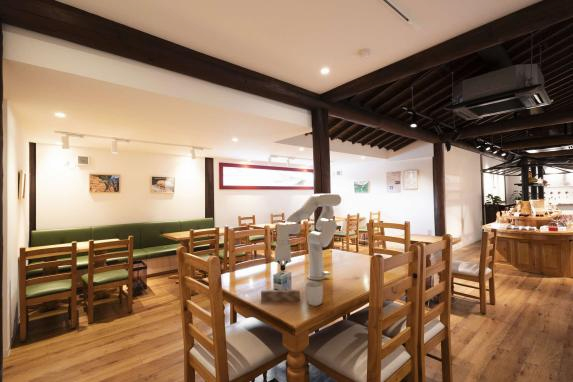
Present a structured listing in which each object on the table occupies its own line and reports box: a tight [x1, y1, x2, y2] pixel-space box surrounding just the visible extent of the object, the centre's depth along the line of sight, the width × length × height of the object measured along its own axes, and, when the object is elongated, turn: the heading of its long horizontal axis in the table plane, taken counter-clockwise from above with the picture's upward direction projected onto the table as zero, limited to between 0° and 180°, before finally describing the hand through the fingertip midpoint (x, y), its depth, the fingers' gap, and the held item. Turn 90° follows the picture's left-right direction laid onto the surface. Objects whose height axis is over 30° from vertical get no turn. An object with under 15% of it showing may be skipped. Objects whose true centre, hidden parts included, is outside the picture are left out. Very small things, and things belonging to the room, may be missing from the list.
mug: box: [305, 281, 324, 307], centre depth 143 cm, size 13×9×10 cm
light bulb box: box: [272, 270, 293, 290], centre depth 160 cm, size 11×7×11 cm, turn 148°
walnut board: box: [260, 289, 301, 302], centre depth 146 cm, size 21×2×5 cm, turn 86°
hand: (282, 271), depth 171 cm, fingers closed
